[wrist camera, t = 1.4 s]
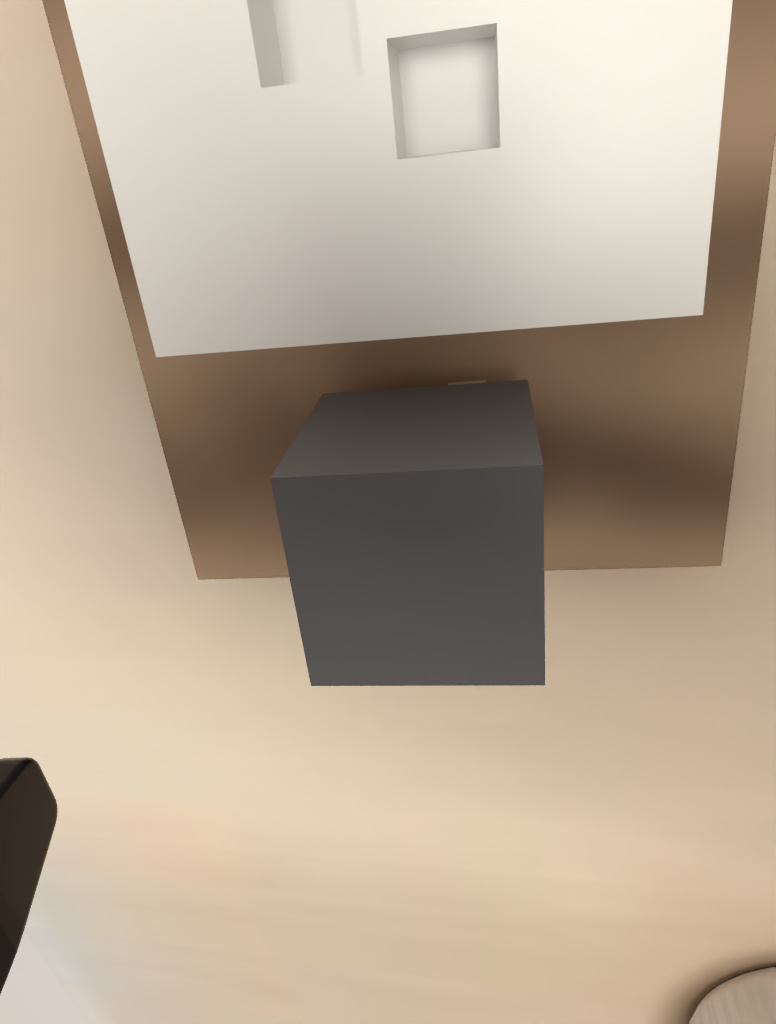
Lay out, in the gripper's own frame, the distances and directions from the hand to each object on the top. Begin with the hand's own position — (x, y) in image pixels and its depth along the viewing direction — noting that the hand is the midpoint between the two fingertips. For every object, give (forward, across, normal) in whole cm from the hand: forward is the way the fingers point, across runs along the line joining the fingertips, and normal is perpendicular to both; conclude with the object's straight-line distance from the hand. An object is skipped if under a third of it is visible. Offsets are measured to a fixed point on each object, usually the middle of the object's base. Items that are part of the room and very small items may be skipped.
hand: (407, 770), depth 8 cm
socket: (+13, 0, -8) cm, 15 cm away
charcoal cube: (+12, 0, +2) cm, 13 cm away
